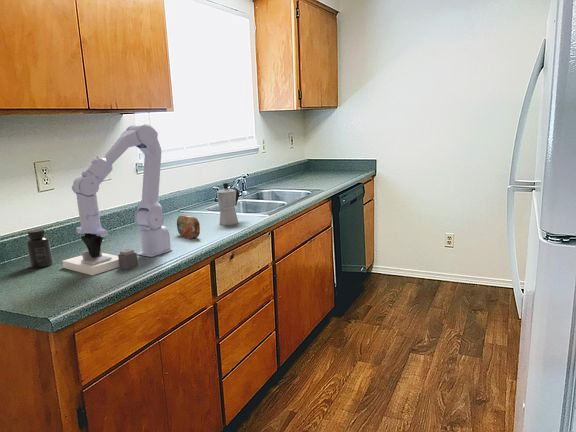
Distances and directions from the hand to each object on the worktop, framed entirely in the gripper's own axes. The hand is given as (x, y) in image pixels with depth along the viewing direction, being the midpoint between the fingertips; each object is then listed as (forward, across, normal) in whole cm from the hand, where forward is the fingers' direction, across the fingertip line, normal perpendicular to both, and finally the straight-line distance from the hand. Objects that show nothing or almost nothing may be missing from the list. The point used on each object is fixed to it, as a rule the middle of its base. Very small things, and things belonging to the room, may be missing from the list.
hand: (95, 256), depth 147 cm
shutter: (+1, 0, 0) cm, 1 cm away
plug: (+4, +9, +6) cm, 11 cm away
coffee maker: (+4, -6, +69) cm, 69 cm away
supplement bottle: (+4, -22, -7) cm, 23 cm away
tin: (+4, -4, +43) cm, 43 cm away
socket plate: (+4, -3, +1) cm, 5 cm away
